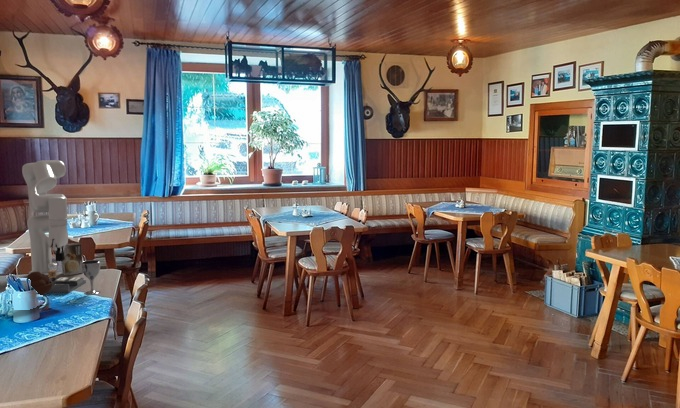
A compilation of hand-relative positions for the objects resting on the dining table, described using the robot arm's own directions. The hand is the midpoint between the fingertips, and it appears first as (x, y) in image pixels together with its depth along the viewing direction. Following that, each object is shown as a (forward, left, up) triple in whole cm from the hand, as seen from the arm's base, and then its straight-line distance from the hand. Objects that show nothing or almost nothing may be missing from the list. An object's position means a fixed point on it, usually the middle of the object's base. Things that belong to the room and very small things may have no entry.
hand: (60, 260), depth 246 cm
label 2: (-10, +2, -12) cm, 16 cm away
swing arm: (-4, -6, -7) cm, 10 cm away
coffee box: (-35, -11, -15) cm, 40 cm away
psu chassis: (-7, -3, -15) cm, 17 cm away
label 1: (-10, -4, -12) cm, 16 cm away
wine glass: (+2, +15, -15) cm, 21 cm away
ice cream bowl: (+20, 0, -15) cm, 25 cm away
